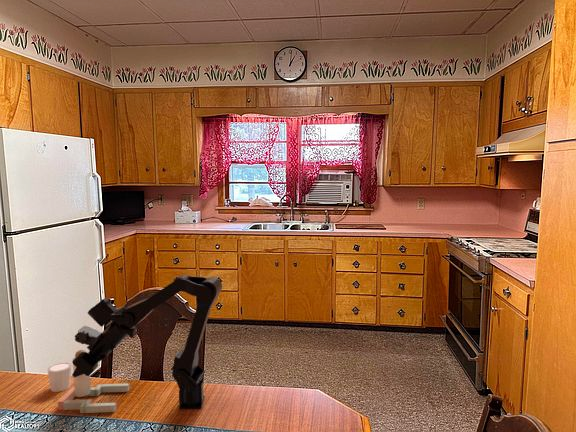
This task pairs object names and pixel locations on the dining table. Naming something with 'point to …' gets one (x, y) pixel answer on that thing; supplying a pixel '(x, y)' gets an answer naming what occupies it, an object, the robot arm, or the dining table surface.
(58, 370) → the shot glass
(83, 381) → the pepper mill
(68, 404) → the rack
